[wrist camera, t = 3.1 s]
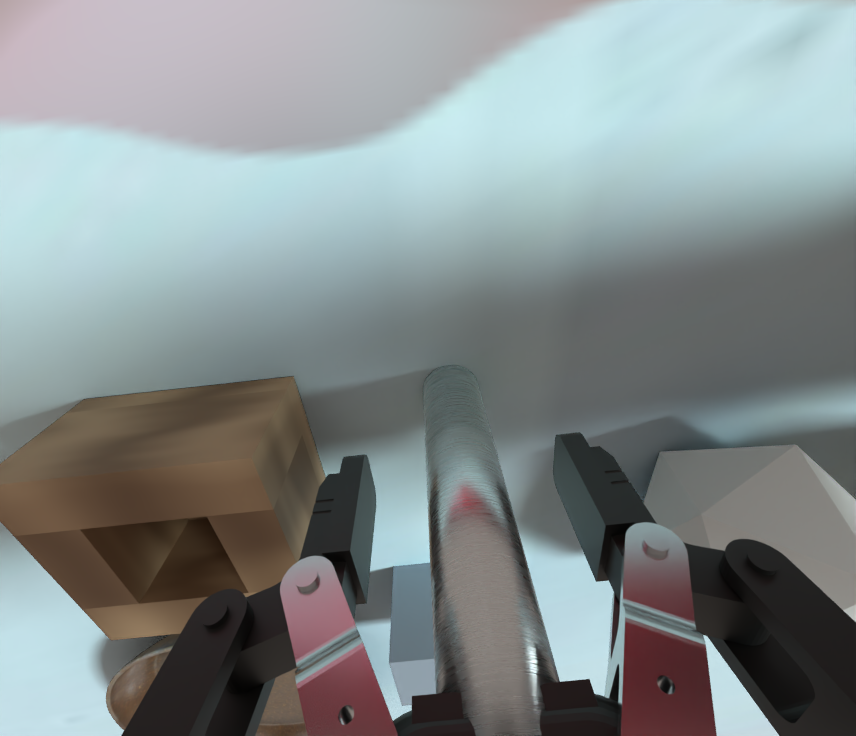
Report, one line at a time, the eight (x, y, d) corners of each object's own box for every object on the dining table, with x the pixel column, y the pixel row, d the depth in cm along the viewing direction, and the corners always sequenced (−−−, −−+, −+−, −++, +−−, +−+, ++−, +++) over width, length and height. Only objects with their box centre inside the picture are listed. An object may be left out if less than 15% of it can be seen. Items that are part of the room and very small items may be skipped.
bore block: (293, 376, 17) (251, 457, 12) (339, 521, 21) (320, 619, 17) (84, 399, 17) (-31, 487, 12) (172, 538, 21) (110, 640, 17)
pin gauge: (476, 362, 17) (586, 728, 6) (479, 408, 18) (574, 784, 7) (420, 368, 17) (432, 743, 6) (426, 414, 18) (445, 795, 7)
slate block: (470, 557, 23) (483, 654, 19) (474, 602, 25) (486, 697, 21) (393, 565, 23) (389, 662, 19) (403, 609, 25) (402, 705, 21)
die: (574, 514, 22) (722, 708, 18) (622, 469, 15) (896, 780, 10) (683, 440, 24) (845, 601, 19) (774, 366, 17) (1075, 597, 12)
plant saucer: (72, 642, 26) (33, 699, 23) (298, 560, 23) (283, 614, 20) (244, 738, 34) (230, 788, 31) (430, 687, 31) (431, 737, 28)
